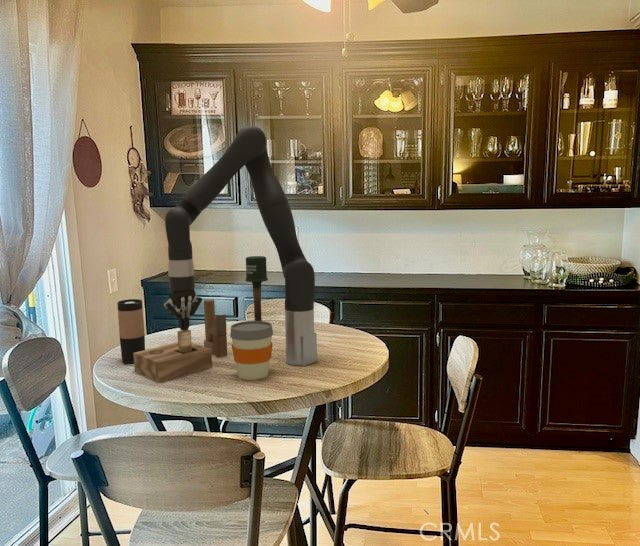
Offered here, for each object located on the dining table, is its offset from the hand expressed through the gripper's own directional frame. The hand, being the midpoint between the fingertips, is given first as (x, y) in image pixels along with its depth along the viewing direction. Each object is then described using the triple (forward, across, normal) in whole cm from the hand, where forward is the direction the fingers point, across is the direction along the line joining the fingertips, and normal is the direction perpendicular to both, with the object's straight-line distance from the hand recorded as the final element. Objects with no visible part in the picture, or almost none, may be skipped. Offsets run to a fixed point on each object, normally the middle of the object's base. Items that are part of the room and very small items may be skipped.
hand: (184, 329), depth 157 cm
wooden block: (+13, +16, +7) cm, 22 cm away
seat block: (+12, -3, +2) cm, 13 cm away
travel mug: (+13, -7, +20) cm, 25 cm away
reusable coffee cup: (+13, +10, -20) cm, 26 cm away
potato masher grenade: (+13, +42, +15) cm, 46 cm away
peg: (+12, 0, 0) cm, 13 cm away
